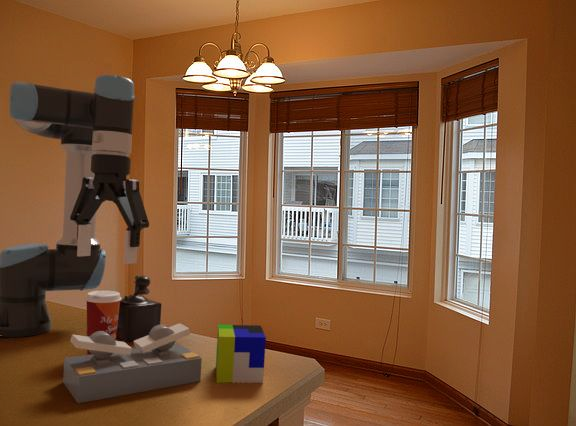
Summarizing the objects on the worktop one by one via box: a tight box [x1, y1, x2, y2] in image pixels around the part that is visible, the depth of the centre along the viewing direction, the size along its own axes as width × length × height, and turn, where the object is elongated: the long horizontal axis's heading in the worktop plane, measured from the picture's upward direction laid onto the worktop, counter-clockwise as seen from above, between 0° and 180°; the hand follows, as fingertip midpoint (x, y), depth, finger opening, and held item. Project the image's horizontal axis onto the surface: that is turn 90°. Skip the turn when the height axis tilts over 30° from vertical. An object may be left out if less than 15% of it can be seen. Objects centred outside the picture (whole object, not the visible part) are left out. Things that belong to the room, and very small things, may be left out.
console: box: [62, 342, 202, 404], centre depth 106 cm, size 12×25×6 cm, turn 126°
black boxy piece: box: [116, 275, 162, 342], centre depth 137 cm, size 16×11×18 cm
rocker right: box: [133, 323, 191, 353], centre depth 110 cm, size 5×11×5 cm, turn 126°
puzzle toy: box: [215, 324, 267, 384], centre depth 114 cm, size 10×10×10 cm
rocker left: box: [69, 331, 133, 359], centre depth 103 cm, size 5×11×5 cm, turn 126°
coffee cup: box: [84, 290, 123, 355], centre depth 121 cm, size 8×8×15 cm
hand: (106, 259), depth 102 cm, fingers open, 13 cm apart
